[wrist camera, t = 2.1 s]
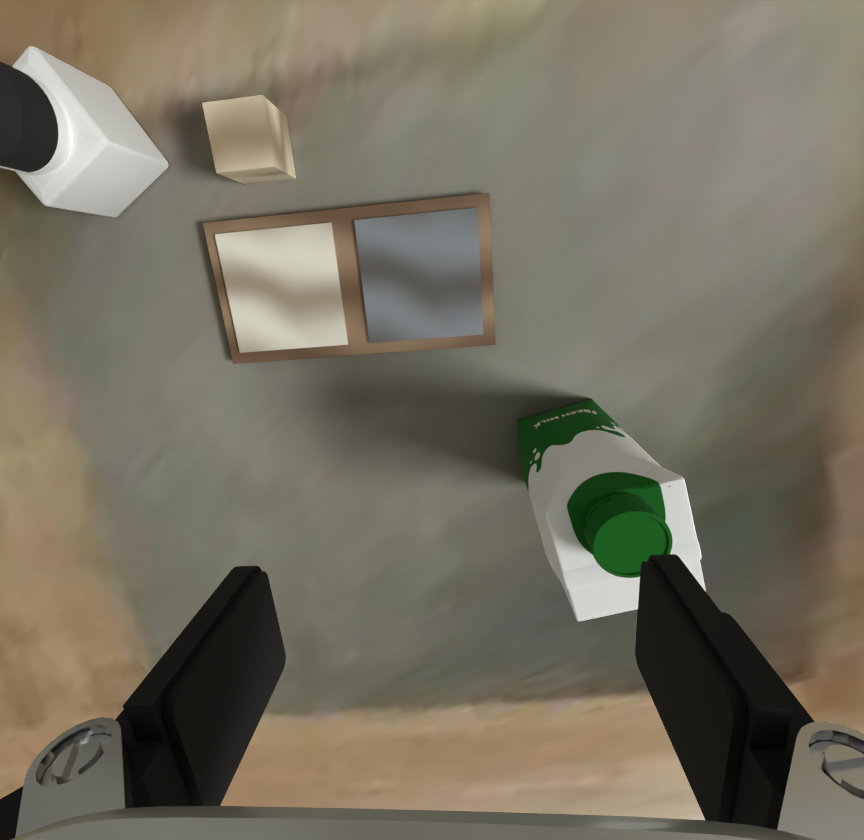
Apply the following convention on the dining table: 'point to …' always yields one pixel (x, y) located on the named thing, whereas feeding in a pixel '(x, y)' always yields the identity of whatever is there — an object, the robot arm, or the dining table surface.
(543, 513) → the fresh milk carton
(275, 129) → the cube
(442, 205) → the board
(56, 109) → the medicine bottle
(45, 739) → the dining table surface
